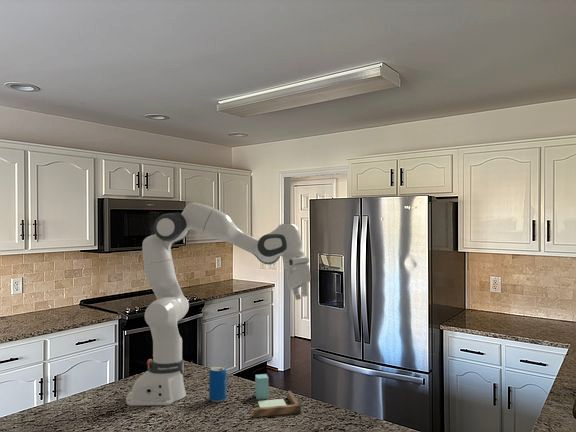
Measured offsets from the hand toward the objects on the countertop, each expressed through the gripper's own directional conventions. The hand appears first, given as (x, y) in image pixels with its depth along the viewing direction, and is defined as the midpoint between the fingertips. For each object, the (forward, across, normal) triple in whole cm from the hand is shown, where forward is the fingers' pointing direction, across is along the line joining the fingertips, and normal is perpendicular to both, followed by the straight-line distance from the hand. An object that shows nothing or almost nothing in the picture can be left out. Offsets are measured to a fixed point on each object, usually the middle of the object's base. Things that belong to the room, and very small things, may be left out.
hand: (301, 298), depth 174 cm
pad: (+36, -9, -17) cm, 41 cm away
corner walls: (+37, -8, -17) cm, 41 cm away
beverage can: (+31, -19, -35) cm, 51 cm away
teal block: (+34, -18, -18) cm, 42 cm away
